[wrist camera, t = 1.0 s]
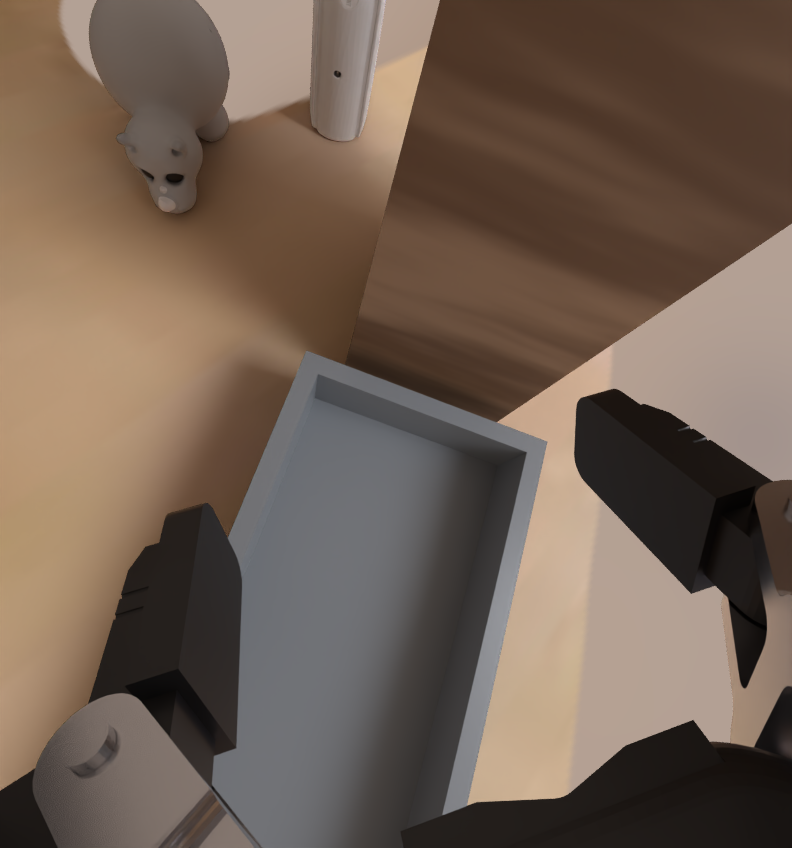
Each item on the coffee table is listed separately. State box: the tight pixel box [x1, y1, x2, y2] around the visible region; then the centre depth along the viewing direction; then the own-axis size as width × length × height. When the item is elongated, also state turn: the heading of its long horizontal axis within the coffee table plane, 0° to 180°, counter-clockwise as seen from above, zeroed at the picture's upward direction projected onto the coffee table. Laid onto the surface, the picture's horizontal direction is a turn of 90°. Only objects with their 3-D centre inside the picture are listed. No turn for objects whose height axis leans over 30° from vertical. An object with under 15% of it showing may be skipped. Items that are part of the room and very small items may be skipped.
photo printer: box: [310, 0, 386, 141], centre depth 31 cm, size 10×4×12 cm, turn 176°
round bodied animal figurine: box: [89, 0, 229, 214], centre depth 29 cm, size 7×12×8 cm, turn 179°
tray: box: [212, 351, 547, 848], centre depth 24 cm, size 29×14×5 cm, turn 162°
